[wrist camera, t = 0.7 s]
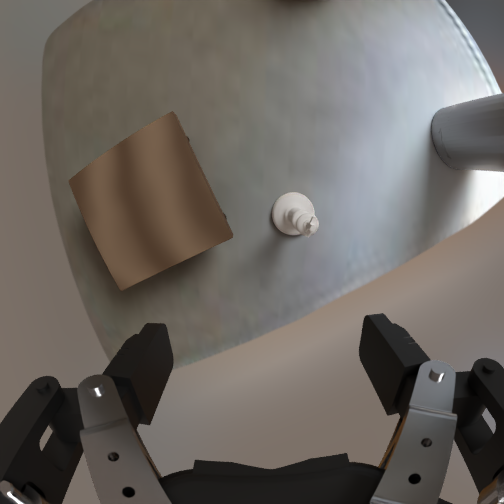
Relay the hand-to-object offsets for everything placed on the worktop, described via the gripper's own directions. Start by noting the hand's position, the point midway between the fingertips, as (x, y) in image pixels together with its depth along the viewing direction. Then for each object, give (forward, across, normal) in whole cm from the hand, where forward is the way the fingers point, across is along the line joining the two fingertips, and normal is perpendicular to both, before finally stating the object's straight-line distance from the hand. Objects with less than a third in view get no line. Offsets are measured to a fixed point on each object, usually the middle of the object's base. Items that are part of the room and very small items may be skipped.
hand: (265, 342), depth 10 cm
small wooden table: (+22, +11, -5) cm, 25 cm away
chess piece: (+22, -4, -2) cm, 23 cm away
